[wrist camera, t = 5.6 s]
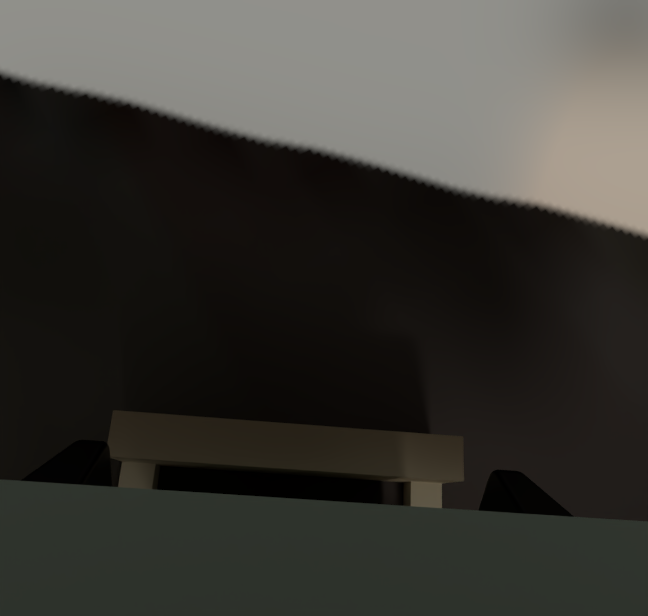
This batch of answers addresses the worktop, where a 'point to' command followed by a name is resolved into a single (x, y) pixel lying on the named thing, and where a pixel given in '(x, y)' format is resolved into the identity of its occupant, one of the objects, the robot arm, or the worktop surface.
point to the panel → (304, 557)
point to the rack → (284, 452)
